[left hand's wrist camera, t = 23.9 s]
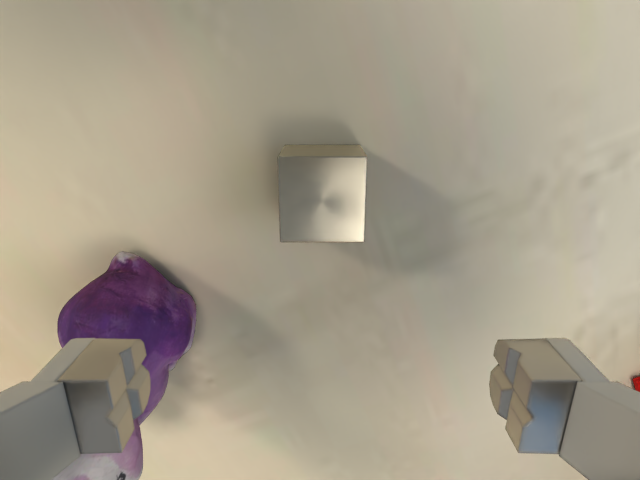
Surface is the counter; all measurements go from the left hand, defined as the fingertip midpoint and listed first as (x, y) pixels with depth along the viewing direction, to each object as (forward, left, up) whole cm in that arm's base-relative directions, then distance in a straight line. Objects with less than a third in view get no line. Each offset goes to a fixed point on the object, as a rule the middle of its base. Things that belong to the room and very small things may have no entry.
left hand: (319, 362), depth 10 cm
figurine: (-13, -10, -21) cm, 27 cm away
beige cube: (0, 0, -21) cm, 21 cm away
